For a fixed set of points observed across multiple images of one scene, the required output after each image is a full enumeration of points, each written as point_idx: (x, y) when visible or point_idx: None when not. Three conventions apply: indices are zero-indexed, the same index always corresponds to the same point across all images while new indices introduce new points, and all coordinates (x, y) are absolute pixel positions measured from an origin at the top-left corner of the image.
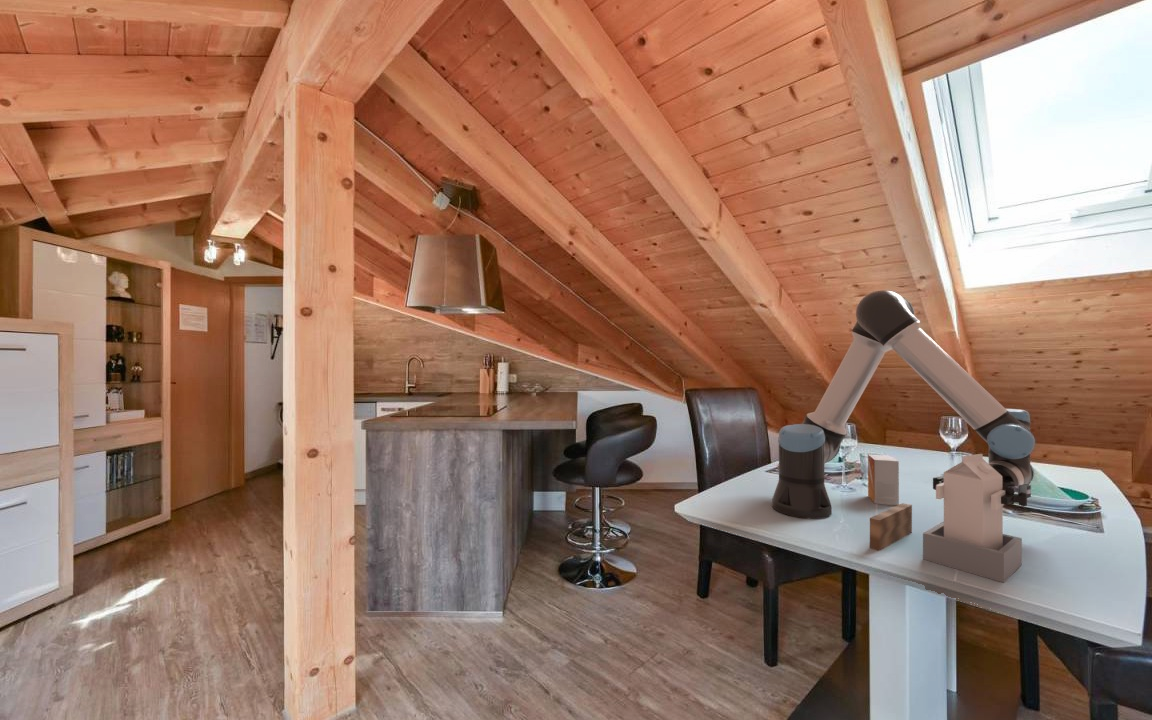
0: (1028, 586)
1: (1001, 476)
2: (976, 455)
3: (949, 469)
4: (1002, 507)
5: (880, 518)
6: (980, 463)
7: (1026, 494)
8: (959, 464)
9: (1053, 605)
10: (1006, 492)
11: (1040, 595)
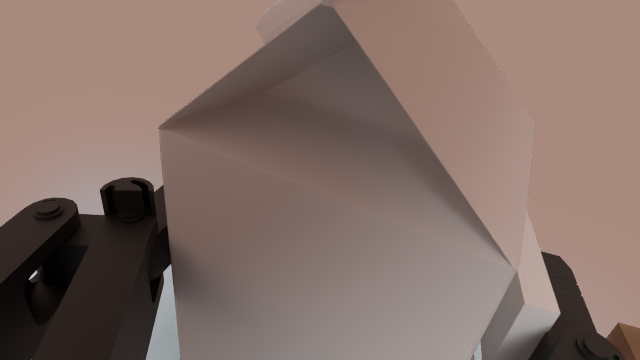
0: (177, 351)
1: (169, 122)
2: None
3: (506, 85)
4: (178, 328)
5: (638, 348)
6: None
7: (35, 207)
8: (459, 23)
9: (170, 269)
10: (156, 220)
11: (173, 307)
